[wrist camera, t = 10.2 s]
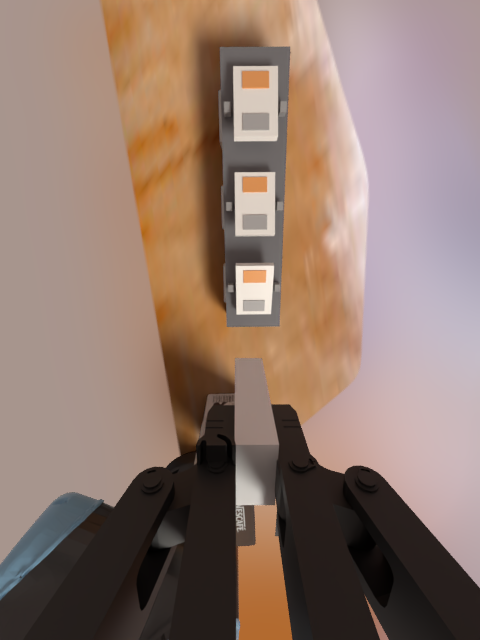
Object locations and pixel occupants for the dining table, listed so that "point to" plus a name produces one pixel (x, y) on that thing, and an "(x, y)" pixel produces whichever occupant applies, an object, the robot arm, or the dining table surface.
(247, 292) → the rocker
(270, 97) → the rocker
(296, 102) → the dining table surface
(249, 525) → the coffee box
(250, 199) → the rocker middle
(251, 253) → the power strip
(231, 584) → the robot arm
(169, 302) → the dining table surface
